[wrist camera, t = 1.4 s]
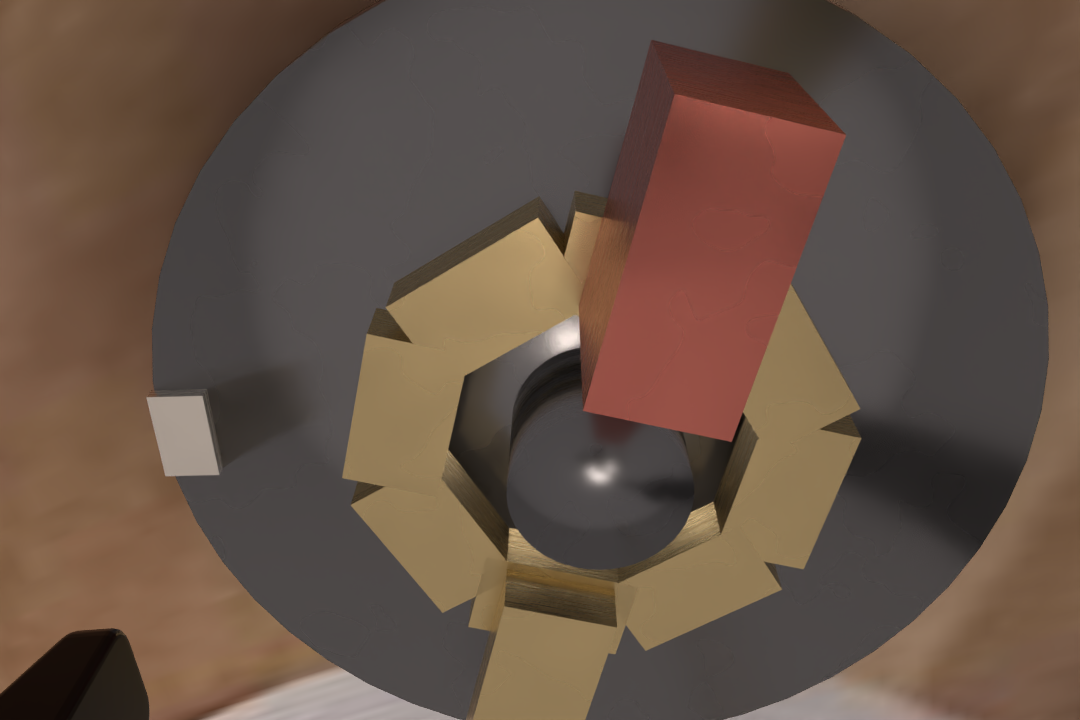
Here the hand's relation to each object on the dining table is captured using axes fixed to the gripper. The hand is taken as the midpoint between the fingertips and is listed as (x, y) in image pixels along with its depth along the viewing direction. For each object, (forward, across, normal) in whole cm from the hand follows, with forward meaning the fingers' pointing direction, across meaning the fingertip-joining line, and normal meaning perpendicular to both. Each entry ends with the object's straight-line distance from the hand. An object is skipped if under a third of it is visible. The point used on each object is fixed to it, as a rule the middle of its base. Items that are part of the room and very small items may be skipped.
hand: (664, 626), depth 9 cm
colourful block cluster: (+12, -1, +6) cm, 13 cm away
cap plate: (+13, -1, +6) cm, 15 cm away
